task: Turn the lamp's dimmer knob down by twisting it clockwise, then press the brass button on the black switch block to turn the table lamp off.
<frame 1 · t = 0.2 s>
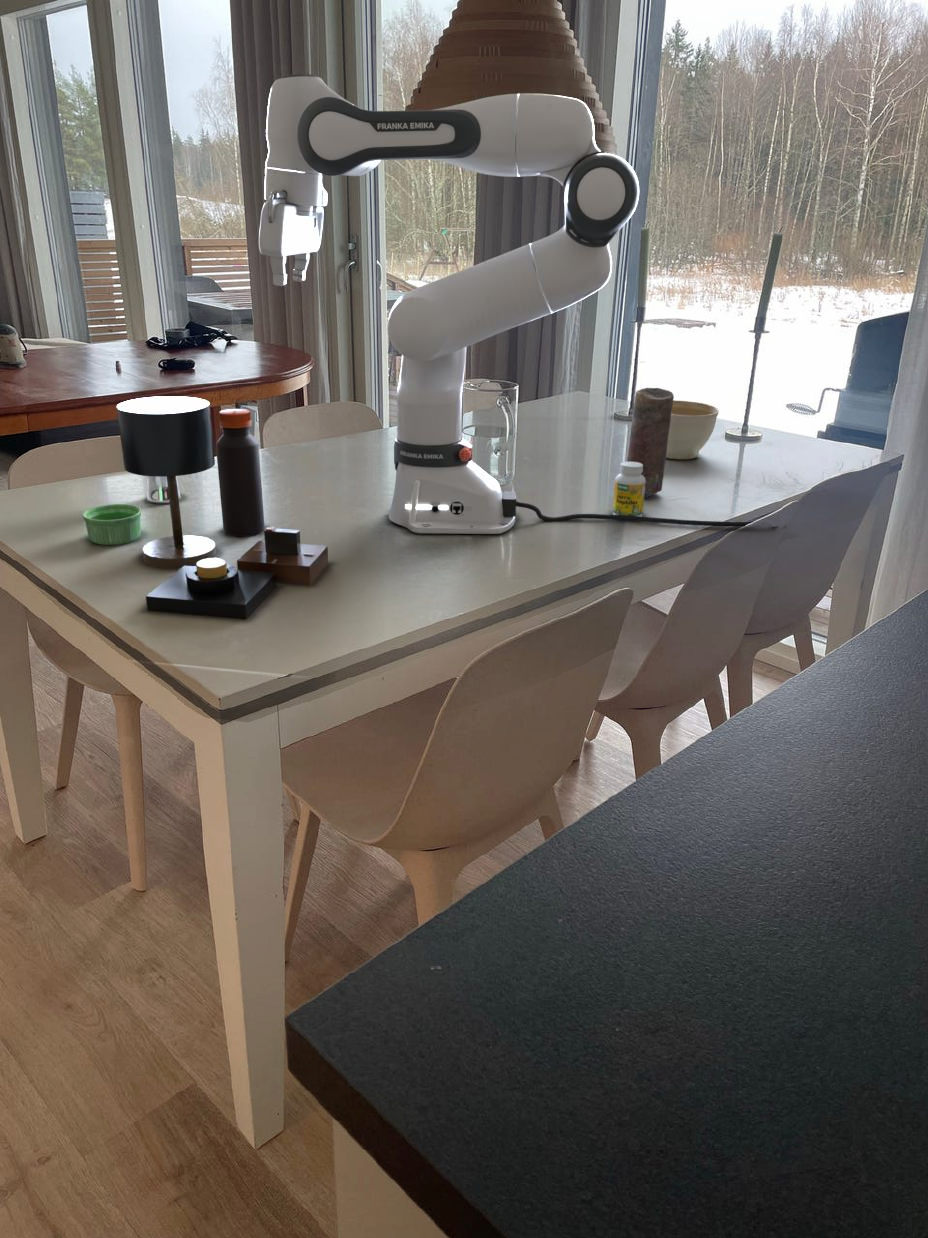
hand: (289, 283, 153), 39 cm above the table, tool pointing down, fingers open, 8 cm apart
switch block: (214, 598, 130), on the table
planter bowl: (676, 456, 212), on the table
candle: (642, 495, 182), on the table
table lamp: (180, 556, 145), on the table
ramekin: (115, 538, 152), on the table
lamp button: (211, 568, 128), point 4 cm above the table, slide at 0.1 cm
supplement bottle: (627, 516, 169), on the table
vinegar: (244, 531, 157), on the table
dimmer knob: (282, 540, 138), point 5 cm above the table, hinge at 0.0°
beer glass: (164, 500, 173), on the table
dimmer: (284, 571, 140), on the table
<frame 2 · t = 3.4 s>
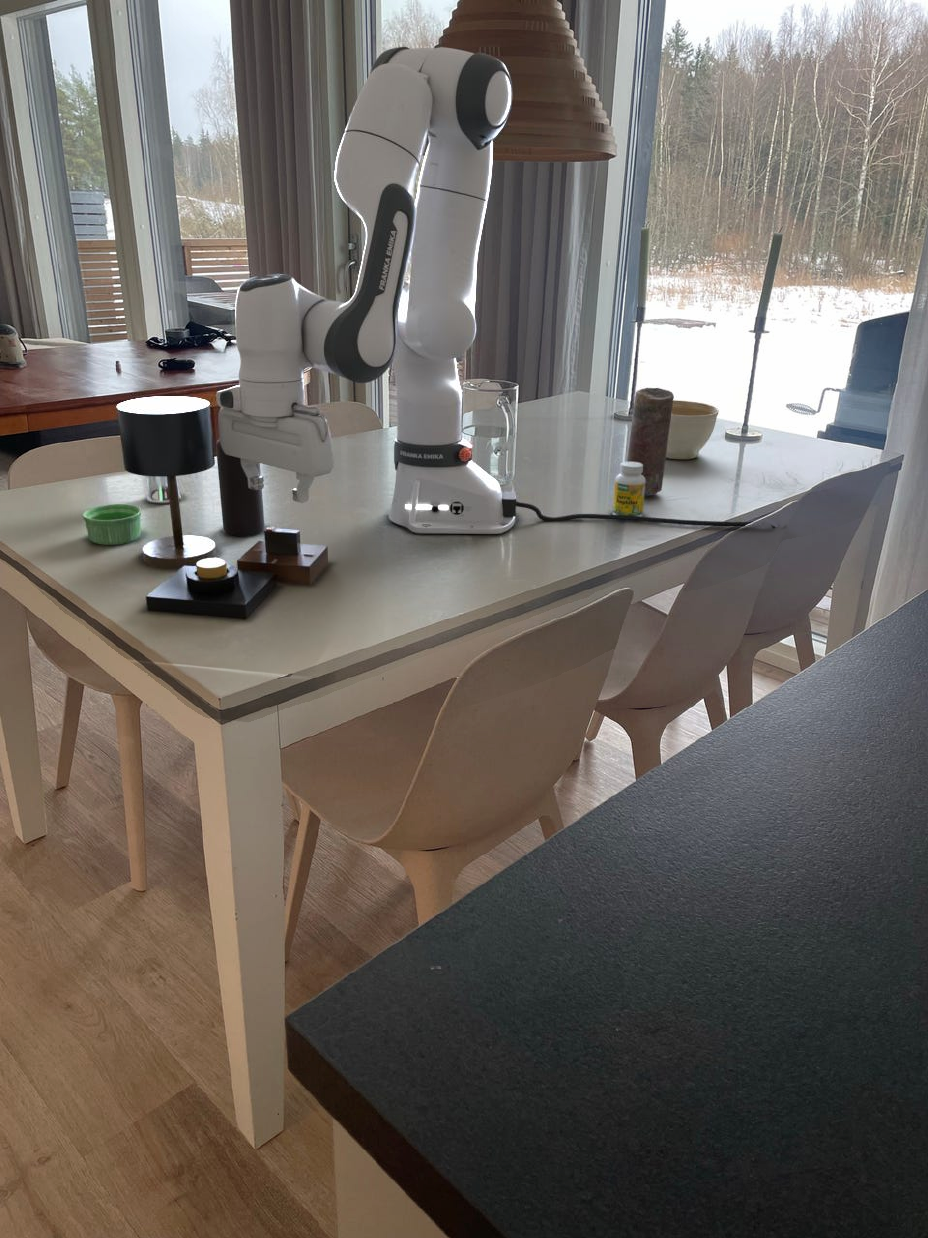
hand: (278, 494, 135), 12 cm above the table, tool pointing down, fingers open, 8 cm apart
nothing on the table moved.
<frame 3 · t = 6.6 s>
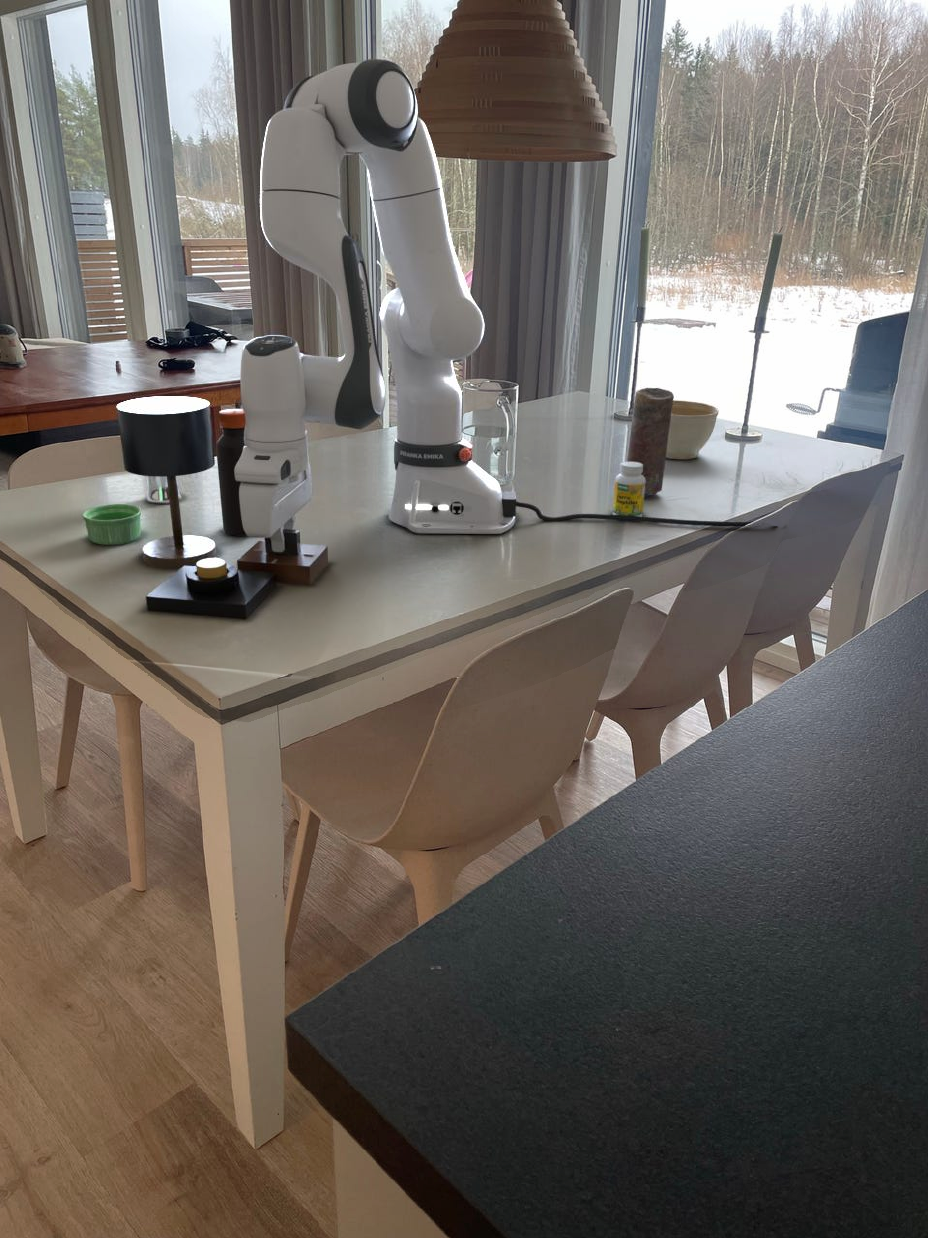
hand: (282, 547, 138), 4 cm above the table, tool pointing down, fingers closed on dimmer knob
dimmer knob: (282, 540, 138), point 5 cm above the table, hinge at -0.1°, touching gripper
everything else where it was.
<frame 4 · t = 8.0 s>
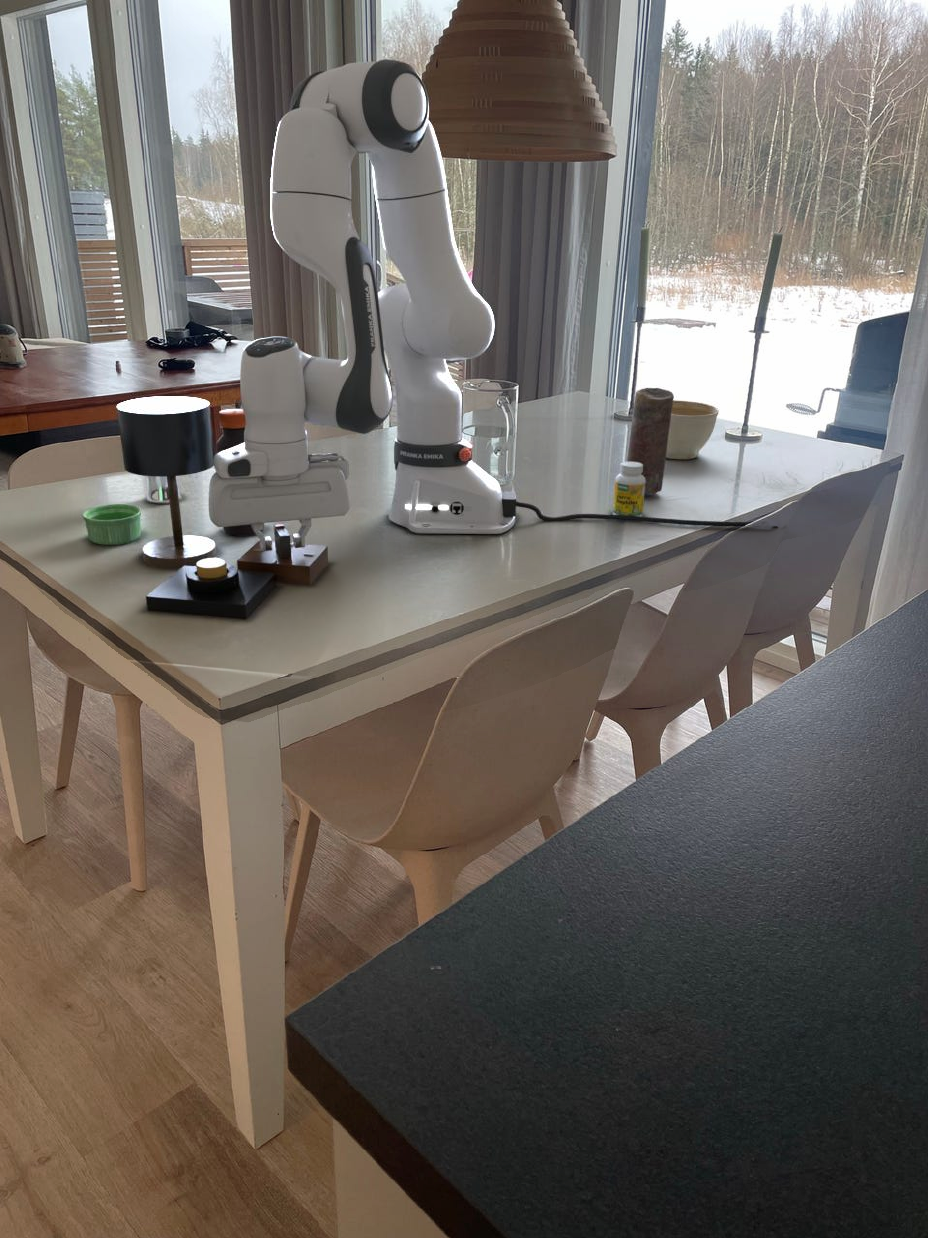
hand: (282, 548, 138), 4 cm above the table, tool pointing down, fingers open, 3 cm apart
dimmer knob: (282, 540, 138), point 5 cm above the table, hinge at -60.1°
everything else where it was.
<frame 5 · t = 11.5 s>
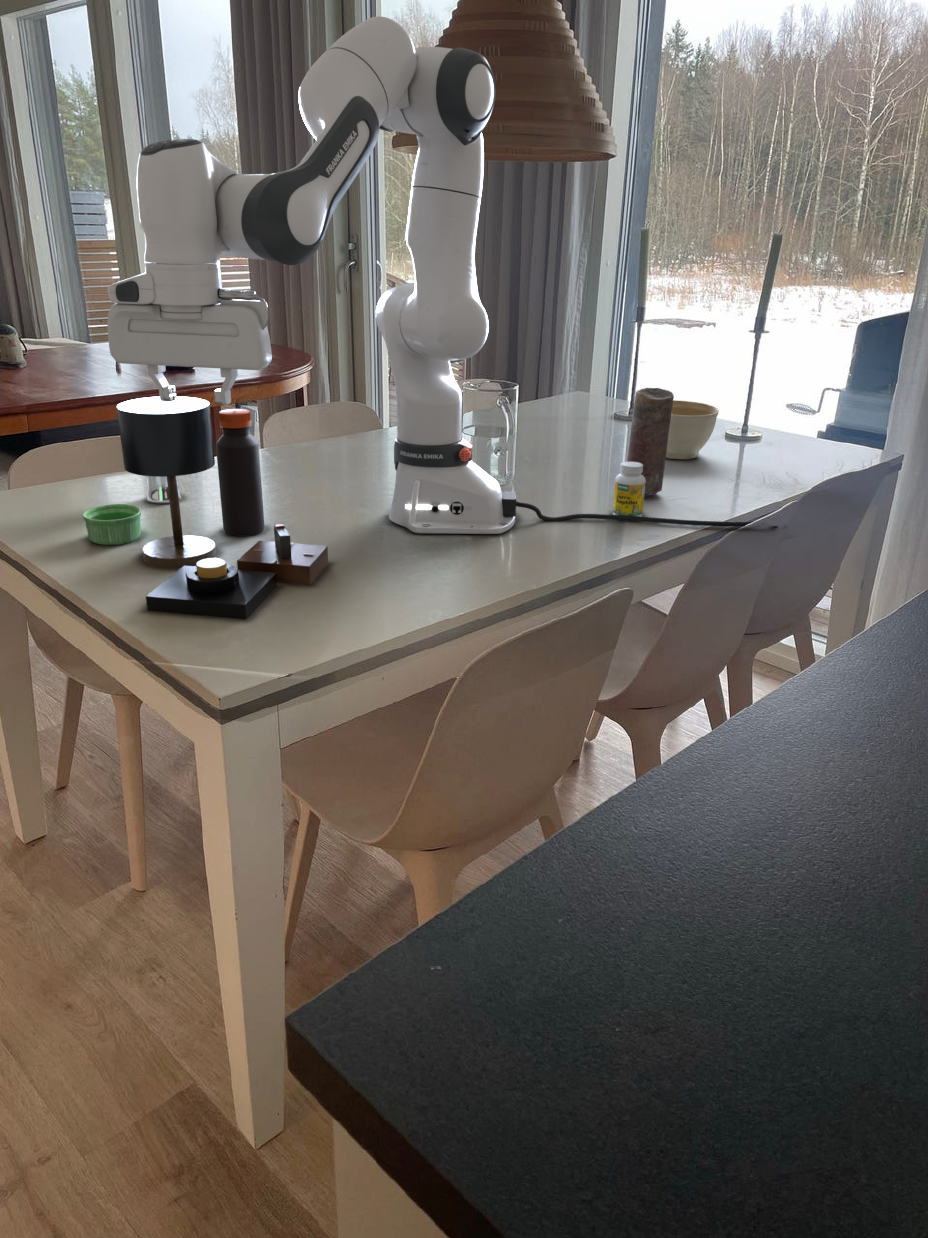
hand: (195, 402, 119), 27 cm above the table, tool pointing down, fingers open, 6 cm apart
nothing on the table moved.
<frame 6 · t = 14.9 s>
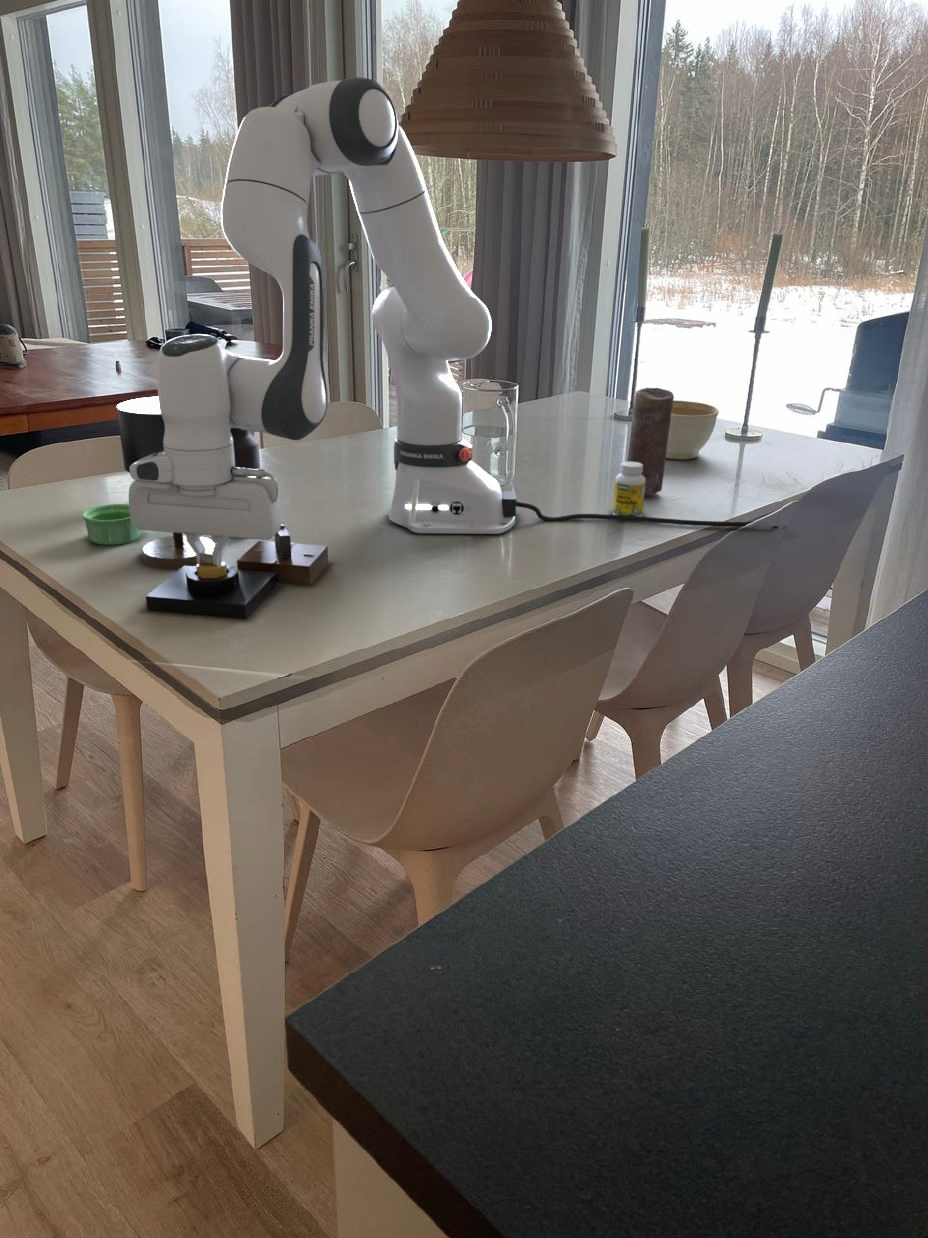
hand: (209, 563, 128), 5 cm above the table, tool pointing down, fingers closed, pressing on lamp button
lamp button: (211, 569, 128), point 4 cm above the table, slide at -0.1 cm, touching gripper
everything else where it was.
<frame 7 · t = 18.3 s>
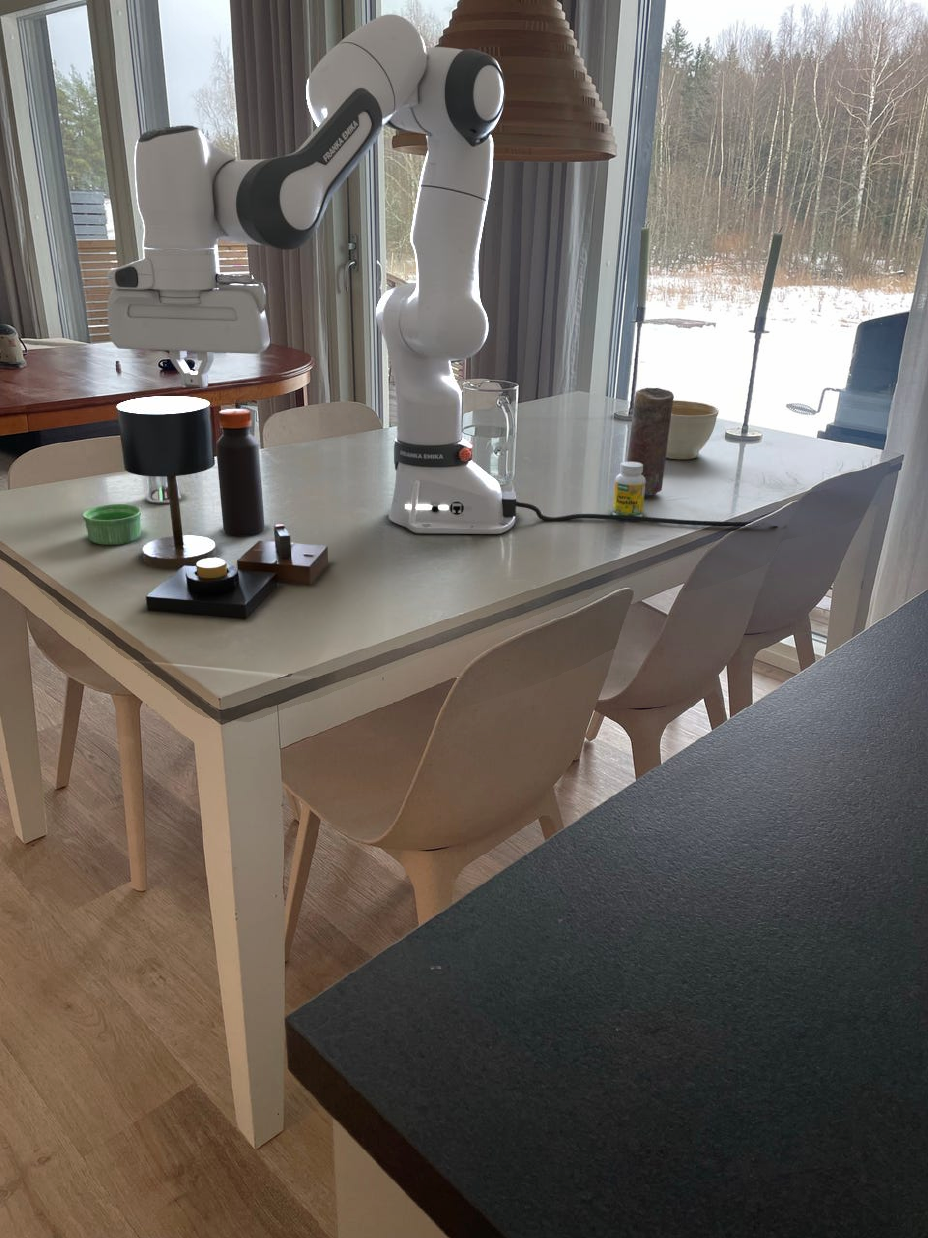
hand: (195, 386, 120), 29 cm above the table, tool pointing down, fingers closed
lamp button: (211, 568, 128), point 4 cm above the table, slide at 0.1 cm
everything else where it was.
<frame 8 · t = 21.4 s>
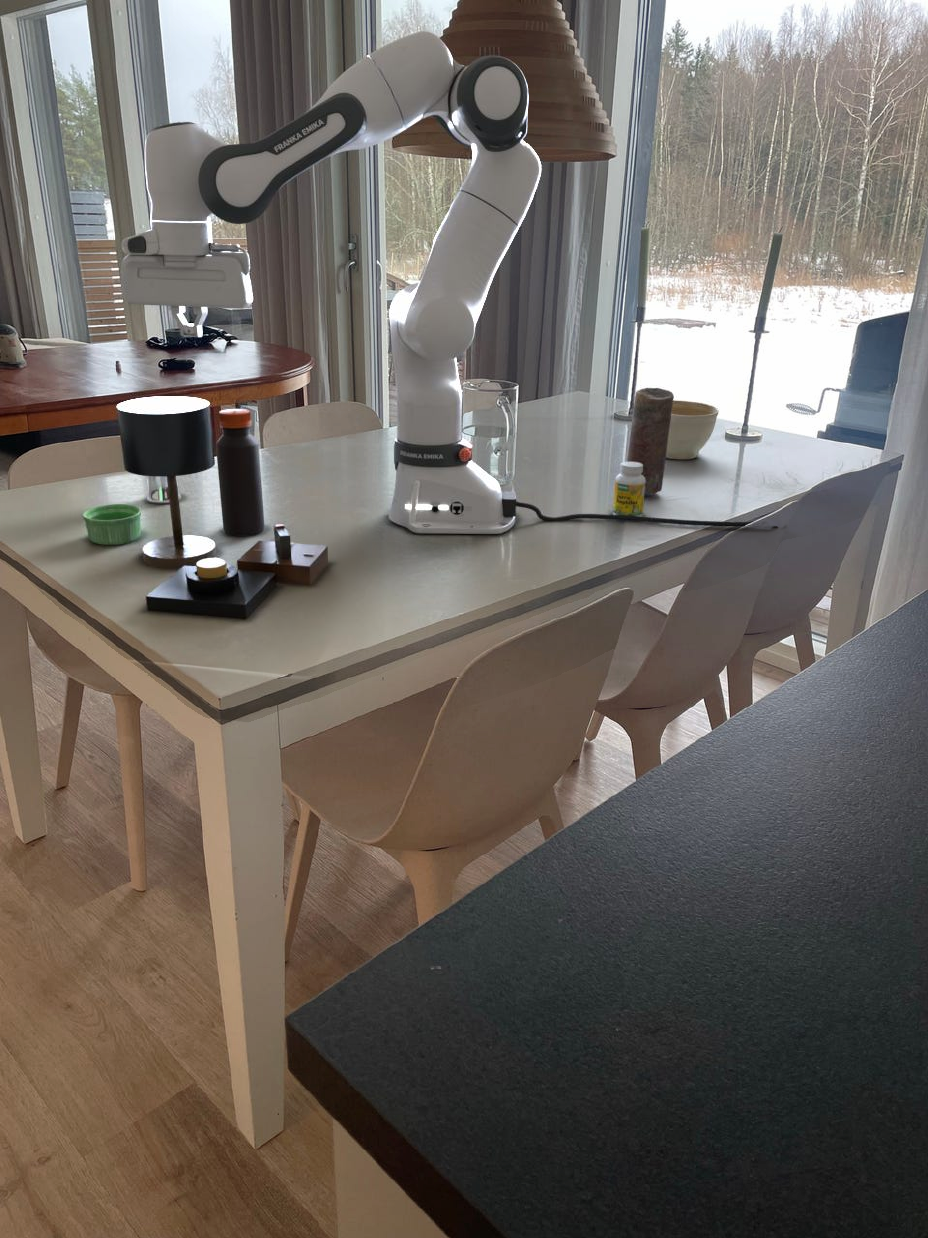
hand: (191, 336, 147), 31 cm above the table, tool pointing down, fingers closed
nothing on the table moved.
at the end: dimmer knob at -60° (first picture: +0°); lamp button pushed in 1.0 cm at the most during the clip, back to where it started at the end; lamp button slide at 0.1 cm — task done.
